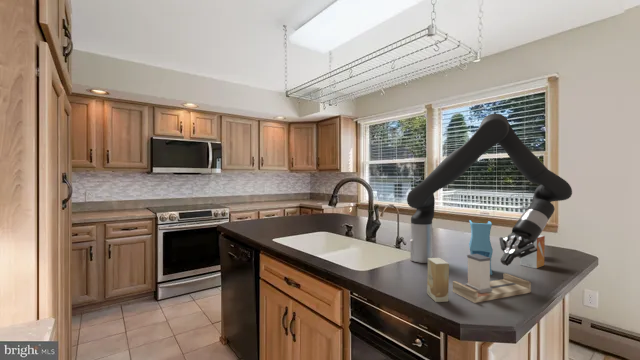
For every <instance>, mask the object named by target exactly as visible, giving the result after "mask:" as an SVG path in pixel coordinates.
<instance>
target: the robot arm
mask: <svg viewBox="0 0 640 360" xmlns="http://www.w3.org/2000/svg"><path fill="white" fill-rule="evenodd" d="M497 144H498V145H499V146H500V147H501V148H502V149H503V150H504V152H506V154H507V155H508V157H509V158H510V160H511V161H512V163H513V165H514V166H515V167H516V169H517V170H518V171H519V172H520V173H521V175H523V176H524V178H526V179H527V181H528V182H529V183H530V184H536V185H538V186H537V187H536V188H535V190H534V191H533V197H532V200H531V203H530V204H529V206H528V207H527V209H526V210H525V211H524V212H523V213H522V215H521V216H520V217H519V219H518V220H517V221H516V223H515V225H514V226H513V228H512V229H511V233H509V234H508V235H507V236H506V237H502V236H500V237H499V239H498V240H499V246H500V249H501V251H502V252H503V253H504V254H503V255H502V256H501V258H500V263H501V264H502V265H504V266H509V265H512V262H514V259H516V258H522V257H524V256H527V255H529V254H531V253H533V252H536V251H537V248H536V247H535V246H534V242H535V241H536V240H537V238H538V237H539V235H542V232H543V231H544V230H545V227H546V226H547V224H548V222H549V220H550V219H551V217H552V216H553V214H554V212H555V206H554V204H553V202H560V201H561V202H562V201H567V200H568V199H570V198H571V197H572V194H573V189H572V186H571V184H570V183H569V182H568V181H567V180H566V179H564V178H562V177H561V176H559V175H558V174H557V173H555V172H553V171H551V170H550V169H549V168H548V167H547V166H545V164H544V163H543V162H542V161H541V160H540V159H539V158H538V157H537V156H536V155H535V154H534V153H533V151H532V150H530V149H529V148H528V147H527V146H526V144H524V143H523V141H522V139H520V137H519V136H518V135H517V134H516V132H515V131H514V129H513V128H512V125H511V124H510V122H509V120H508V118H507V117H506V116H505V115H503V114H501V113H490V114H488V115H486V116H485V117H484V118H483V119H482V120H481V123H480V126H479V127H478V128H477V129H476V131H475V132H474V133H473V135H472V136H471V137H470V138H469V139H468V140H467V141H466V142H465V143H464V144H463V145H461V146H459V147H458V148H457V149H455V150H454V151H451V153H450V154H449V155H448V156H446V157H445V158H444V159H443V160H442V161H441V162H440V163H439V164H438V165H437V166H436V167H435V168H434V169H433V170H432V171H431V173H429V174H428V176H426V177H425V178H424V180H422V181H421V182H420V183H418V184H417V185H415V187H414V188H412V189H410V191H409V192H408V194H407V196H406V197H407V198H406V203H407V205H408V207H410V208H411V209H416V210H415V212H414V213H413V215H412V216H411V217H410V261H411V262H415V263H420V264H428V258H433V220H434V217H435V203H436V202H435V193H436V192H438V191H440V190H441V189H443V188H445V187H446V186H449V185H450V184H452V183H453V182H455V181H457V180H458V179H459V178H460V177H461V176H462V175H464V174H465V173H466V172H467V171H468V169H469V168H471V167H472V166H473V165H474V164H475V162H477V160H479V159H480V158H481V156H482V155H484V154H486V152H488V151H489V150H490V149H492V148H493V147H494V146H496V145H497ZM522 252H524V253H522Z"/></svg>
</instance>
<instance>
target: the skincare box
mask: <svg viewBox="0 0 640 360" xmlns="http://www.w3.org/2000/svg"><path fill="white" fill-rule="evenodd" d="M449 276H450V263H449V262H447V261H446V260H444V259H442V258H440V257H432V258H428V263H427V277H426V278H427V281H426V282H427V283H426V284H427V287H426V288H427V289H426V293H427V296H429V298H431V299H432V300H433V301H434V303H435V302H436V303H441V302H446V303H447V302H449V289H450V288H449V286H450V285H449V283H450V282H449V280H450V277H449Z"/></svg>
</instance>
